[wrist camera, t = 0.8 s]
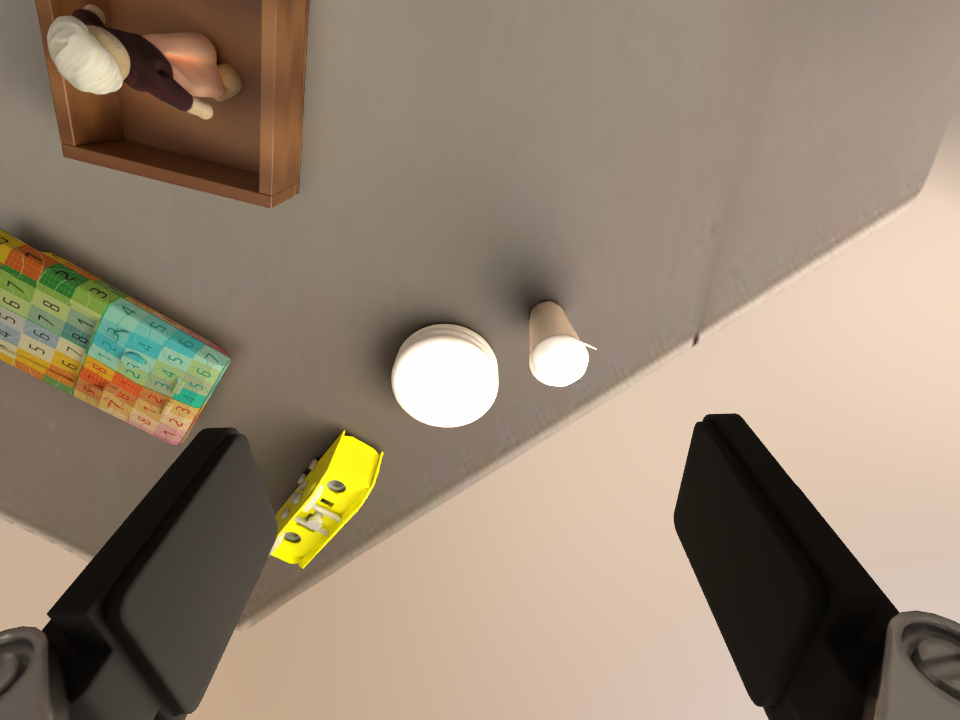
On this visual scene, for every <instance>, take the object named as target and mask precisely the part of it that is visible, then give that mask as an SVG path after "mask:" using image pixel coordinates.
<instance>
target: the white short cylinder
mask: <svg viewBox="0 0 960 720" xmlns="http://www.w3.org/2000/svg"><path fill="white" fill-rule="evenodd" d="M391 383H392V389H393V393H394V395H395V398H396V400H397V401H398V403H399V404H400V406H401V407H402V408H403V409H404V410H405V411H406V412H407V413H408V414H409V415H410V416H412V417H413V418H415V419H416V420H418V421H420V422H423V423H425V424H428V425H432V426H437V427H457V426H462V425H466V424H468V423H471V422H473V421H475V420H477V419H478V418H480V417H481V416H482V415H483V414H485V413H486V412H487V410H488V409H489V408H490V407H491V405H492V404H493V402H494V400H495V397H496V395H497V391H498V365H497V360H496V357H495V355H494V352H493V351H492V349H491V347H490V346H489V345H488V343H487V342H486V341H485V340H484V339H483V338H482V337H481V336H480V335H478V334H477V333H475V332H474V331H472V330H470V329H468V328H465V327H462V326H459V325H453V324H436V325H431V326H427V327H425V328H422V329H420V330H418V331H416V332H415V333H413V334H412V335H411V336H409V337H408V338H407V339H406V340H405V341H404V343H403V344H402V346H401V347H400V349H399V351H398V354H397V357H396V360H395V363H394V366H393V369H392V374H391Z"/></svg>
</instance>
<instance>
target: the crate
mask: <svg viewBox="0 0 960 720" xmlns="http://www.w3.org/2000/svg"><path fill="white" fill-rule="evenodd" d="M35 2H36V8H37V13H38V18H39V24H40V29H41V35H42V40H43V46H44V51H45V57H46V62H47V68H48V73H49V79H50V84H51V90H52V95H53V101H54V106H55V112H56V117H57V123H58V128H59V133H60V139H61V142H62V144H61V145H62V150H63V155H64V157H67V158H71V159H75V160H79V161H83V162H87V163H91V164H95V165H99V166H103V167H107V168H111V169H115V170H119V171H123V172H127V173H131V174H135V175H139V176H143V177H147V178H151V179H155V180H159V181H163V182H167V183H171V184H175V185H179V186H183V187H187V188H191V189H195V190H199V191H203V192H207V193H211V194H215V195H219V196H223V197H227V198H231V199H236V200H240V201H244V202H248V203H252V204H256V205H260V206H264V207H268V208H273V207H275V206H276V205H278V204H280V203H282V202H284V201H285V200H287V199H289V198H291V197H293V196H294V195H296V194H298V193H299V180H300V161H301V143H302V124H303V106H304V87H305V68H306V50H307V31H308V13H309V0H35ZM89 4H91V5H95V6H97V7H98V8H100V9H101V10H102V12H103V13H104V15H105V19H106V22H105V24H104V25H105V26H106V27H109V28H113V29H117V30H122V31H125V32H129V33H136V34H139V35H141V36H143V35H148V34H169V33H186V32H193V33H201V34H203V35H204V36H206V37H207V38H208V39H209V40H210V41H211V43H212V44H213V46H214V47H215V50H216V55H217V62H216V64H217V65H219V64H222V63H227V64H230V65H231V66H233V67H234V68H235V69H236V70H237V71H238V73H239V74H240V76H241V78H242V81H243V87H242V90H241V92H240V93H238V94H237V95H235V96H233V97H231V98H230V99H228V100H226V101H223V102H219V101H217V100H215V99H214V98H212V97H197V96H195V97H196V98H198V99H199V100H200V101H205V102H207V103H208V104H210V106H211V107H212V109H213V116H212V117H211V118H210V119H202V118H200V117H199V116H197V115H193V114H190V113H188V112H183V111H181V110H179V109H177V108H175V107H173V106H171V105H169V104H167V103H165V102H163V101H161V100H160V99H158V98H156V97H154V96H153V95H151V94H150V93H148V92H140V91H136V90H134V89H132V88H131V87H130V86H128V85H127V84H126V83H125V82H124V81H123V84H122V86H121V88H120V89H118V90H117V91H115V92H109V93H107V94H95V93H90V92H83V91H80V90H78V89H77V88H75V87H74V86H73V85H72V84H71V83H70V82H69V81H68V80H66V79H65V78H64V77H63V76H62V75H61V74H60V73H59V71H58V69H57V67H56V65H55V63H54V62H53V60H52V58H51V55H50V53H49V49H48V43H47V34H48V31H49V28H50V26H51V24H52V23H53V22H54V20H55V19H56V18H58V17H60V16H72V13H73V12H74V11H75V10H77V9H83V8H84V7H85V6H86V5H89Z"/></svg>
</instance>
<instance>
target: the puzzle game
mask: <svg viewBox="0 0 960 720" xmlns="http://www.w3.org/2000/svg"><path fill="white" fill-rule="evenodd" d="M0 360H2V361H4V362H6V363H8V364H10V365H12V366H14V367H16V368H18V369H20V370H22V371H24V372H26V373H28V374H30V375H32V376H34V377H36V378H38V379H40V380H42V381H45V382H47V383H49V384H51V385H53V386H55V387H57V388H59V389H61V390H63V391H65V392H67V393H69V394H71V395H73V396H75V397H77V398H79V399H81V400H83V401H85V402H87V403H89V404H91V405H93V406H95V407H97V408H99V409H101V410H103V411H105V412H107V413H109V414H111V415H113V416H115V417H117V418H119V419H121V420H123V421H125V422H127V423H129V424H131V425H133V426H135V427H137V428H139V429H141V430H143V431H145V432H147V433H149V434H151V435H153V436H155V437H157V438H159V439H161V440H163V441H165V442H167V443H169V444H173V445H178V446H180V444H181V443H182V442H183V441H184V440H185V439H186V437H187V435H188V434H189V432H190V430H191V429H192V427H193V425H194V423H195V422H196V420H197V418H198V417H199V415H200V413H201V411H202V410H203V408H204V406H205V405H206V403H207V401H208V399H209V398H210V396H211V394H212V393H213V391H214V389H215V387H216V386H217V384H218V382H219V381H220V379H221V377H222V375H223V374H224V372H225V370H226V369H227V367H228V365H229V363H230V362H231V360H232V359H231V357H230V356H229V354H228V352H227V351H226V350H225V349H223V348H221V347H220V346H218V345H216V344H214V343H213V342H211V341H209V340H207V339H205V338H204V337H202V336H200V335H198V334H197V333H195V332H193V331H191V330H190V329H188V328H186V327H184V326H182V325H181V324H179V323H177V322H175V321H174V320H172V319H170V318H168V317H167V316H165V315H163V314H161V313H159V312H158V311H156V310H154V309H152V308H151V307H149V306H147V305H145V304H144V303H142V302H140V301H138V300H137V299H135V298H133V297H131V296H129V295H128V294H126V293H124V292H122V291H121V290H119V289H117V288H115V287H114V286H112V285H110V284H108V283H106V282H105V281H103V280H101V279H99V278H98V277H96V276H94V275H92V274H91V273H89V272H87V271H85V270H84V269H82V268H80V267H78V266H76V265H75V264H73V263H71V262H69V261H68V260H66V259H63V258H61V257H59V256H57V255H55V254H53V253H48V252H40V251H38V250H36V249H34V248H33V247H31V246H29V245H27V244H26V243H24V242H22V241H21V240H19V239H17V238H16V237H14V236H12V235H11V234H9V233H7V232H5V231H4V230H1V229H0Z"/></svg>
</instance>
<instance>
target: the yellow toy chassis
mask: <svg viewBox="0 0 960 720" xmlns="http://www.w3.org/2000/svg"><path fill="white" fill-rule="evenodd" d="M345 432H346V431H345V430H344V431H343V432H342V433H341V434H340V436H339V437H338V438H337V439H336V440H335V442H334V443H333V444H332V445H331V447H330V448H329V449H328V450H327V452H326V453H325V454H324V455H323V457H322V458H321V459H320V460H319V462H318V461H317V460H316V459H314V460H313V461H312V462H311V464H310V466H309V469H311V471H310V473H309V474H308V475H307V476H306V475H305V474H303V473H302V475H301V476H300V478H299V479H298V481H297V483H299V484H300V485H299V486H298V487H297V489H296V490H295V491H294V492H293V494H292V495H291V496H290V497H289V499H288V500H287V501H286V502H285V504H284V505H283V506H282V507H281V509H280V510H279V511H278V512H277V514H276V516H275V517H276V520H277V524H278V534H277V538H276V541H275V543H274V545H273V547H272V550H271V552H270V554H269V556H270V555H272V556H274V557H277V558H279V559H281V560H283V561H286V562H288V563H290V564H295V563H299V565H298V566H299V567H301V568H303V569H304V567H305V566H306V565H307V564H308V563H309V562H310V561H311V560H312V559H313V558H314V557H315V556H316V555H317V554H318V552H319V551H320V550H321V549H322V548H323V547H324V546H325V545H326V544H327V543H328V542H329V541H330V540H331V539H332V537H333V536H334V535H335V534H336V533H337V532H338V531H339V530H340V529H341V528H342V527H343V526H344V525H345V523H346V522H347V521H348V520H349V519H350V518H351V517H352V516H353V515H354V514H355V513H356V512H357V511H358V510H359V508H360V507H361V506H362V505H363V503H364V501H365V500H366V498H367V497H368V495H369V493H370V492H371V490H372V488H373V487H374V485H375V481H376V478H377V476H378V473H379V467H380V464H381V460H382V457H383V453H384V452H381V453H380V454H378V453H377V452H376V451H375V449H374V448H372V447H370V446H369V445H367V444H365V443H363V442H362V441H360V440H358V439H356V438H354V437H353V436H344V434H345ZM317 462H318V463H317ZM305 477H306V478H305Z"/></svg>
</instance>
